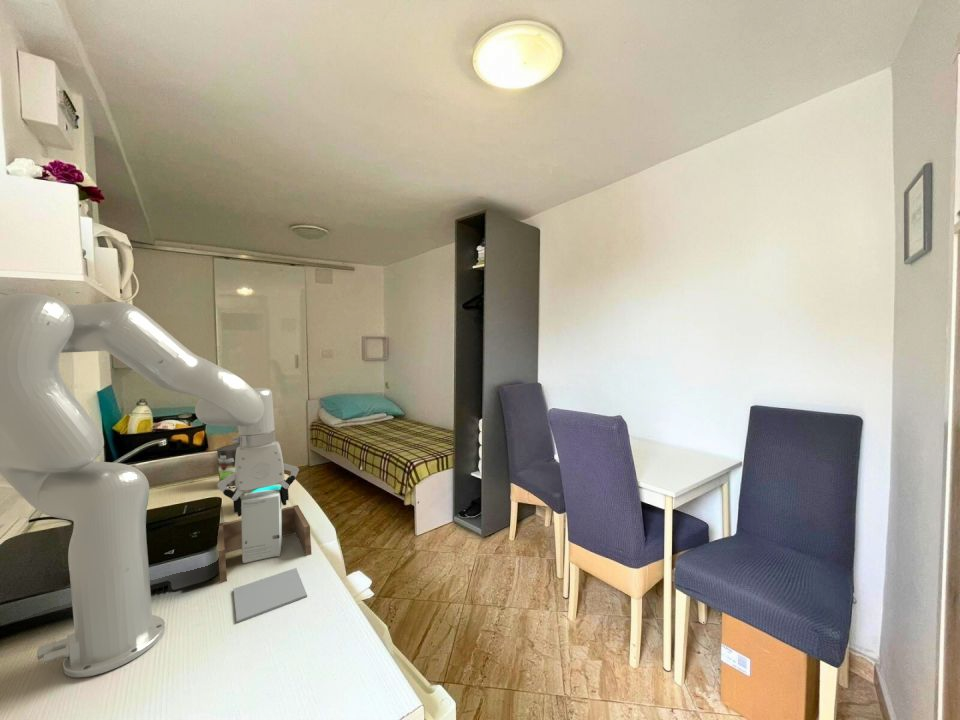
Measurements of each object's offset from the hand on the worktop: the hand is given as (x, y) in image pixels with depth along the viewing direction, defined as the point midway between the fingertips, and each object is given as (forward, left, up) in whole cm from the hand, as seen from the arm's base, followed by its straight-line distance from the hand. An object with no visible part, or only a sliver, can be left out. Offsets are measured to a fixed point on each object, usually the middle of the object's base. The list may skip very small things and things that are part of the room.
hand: (262, 508), depth 95 cm
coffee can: (-3, +65, -11) cm, 66 cm away
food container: (+1, +36, -11) cm, 38 cm away
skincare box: (0, 0, -11) cm, 11 cm away
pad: (-1, -19, -11) cm, 22 cm away
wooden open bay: (0, 0, -11) cm, 11 cm away
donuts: (+3, +17, -11) cm, 21 cm away
